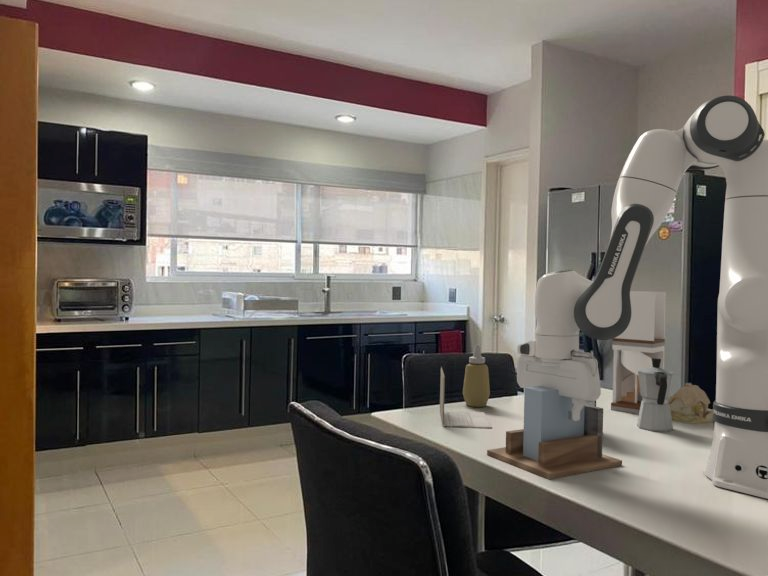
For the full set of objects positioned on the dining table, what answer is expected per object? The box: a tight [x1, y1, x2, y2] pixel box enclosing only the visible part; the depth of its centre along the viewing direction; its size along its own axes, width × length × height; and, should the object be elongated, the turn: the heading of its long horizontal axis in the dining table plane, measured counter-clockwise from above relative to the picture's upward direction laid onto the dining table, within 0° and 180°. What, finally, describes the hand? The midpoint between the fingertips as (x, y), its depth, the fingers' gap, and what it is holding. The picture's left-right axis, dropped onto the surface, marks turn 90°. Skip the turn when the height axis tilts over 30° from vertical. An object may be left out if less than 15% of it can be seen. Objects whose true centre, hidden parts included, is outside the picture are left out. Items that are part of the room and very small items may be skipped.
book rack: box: [486, 404, 623, 480], centre depth 126 cm, size 18×20×11 cm
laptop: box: [439, 366, 493, 429], centre depth 162 cm, size 18×12×13 cm
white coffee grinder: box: [610, 290, 667, 415], centre depth 180 cm, size 11×11×35 cm
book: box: [523, 386, 585, 461], centre depth 126 cm, size 5×12×14 cm, turn 120°
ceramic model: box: [668, 382, 713, 424], centre depth 170 cm, size 14×11×10 cm
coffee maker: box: [636, 358, 675, 433], centre depth 156 cm, size 15×9×18 cm, turn 168°
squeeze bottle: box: [462, 344, 491, 408], centre depth 182 cm, size 8×8×18 cm
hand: (556, 415), depth 126 cm, fingers open, 8 cm apart
